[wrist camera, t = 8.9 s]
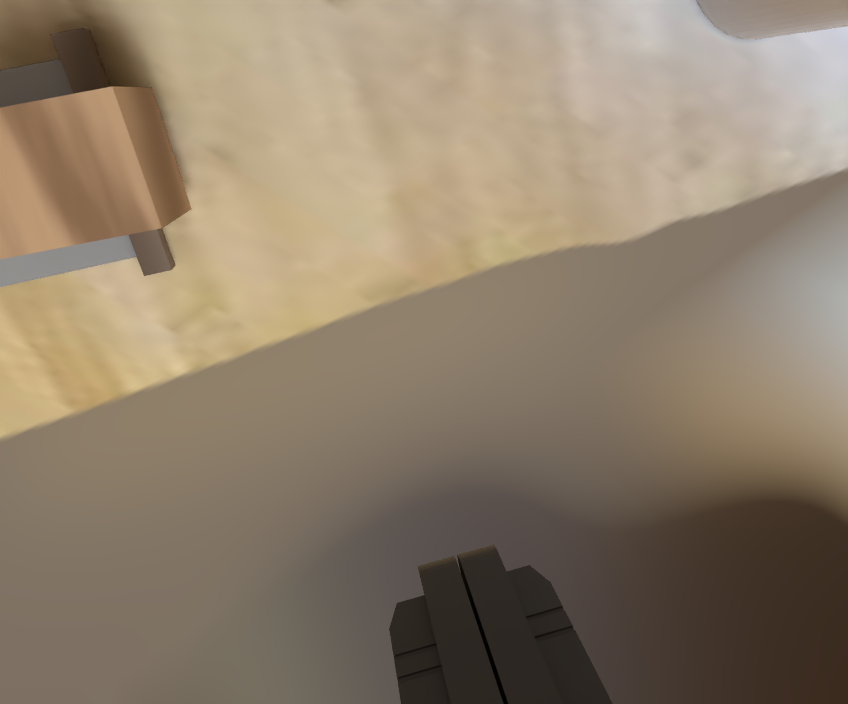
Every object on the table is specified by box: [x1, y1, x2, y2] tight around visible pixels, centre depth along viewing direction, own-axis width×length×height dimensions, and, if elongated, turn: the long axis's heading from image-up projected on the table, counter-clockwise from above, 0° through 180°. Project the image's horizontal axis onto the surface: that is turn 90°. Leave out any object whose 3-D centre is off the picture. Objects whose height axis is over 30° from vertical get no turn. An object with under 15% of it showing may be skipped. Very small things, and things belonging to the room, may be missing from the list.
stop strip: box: [50, 28, 175, 276], centre depth 31 cm, size 2×12×1 cm, turn 10°
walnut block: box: [0, 86, 191, 259], centre depth 29 cm, size 5×6×10 cm
